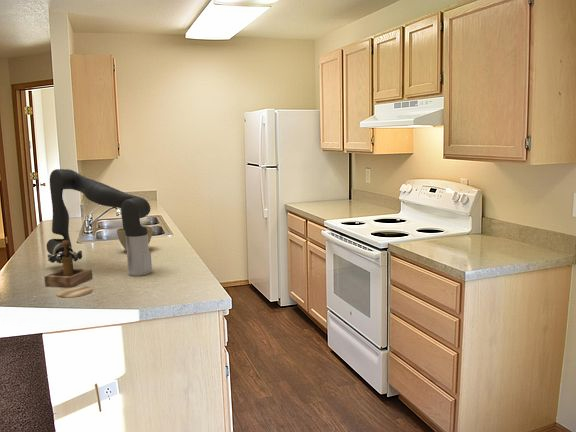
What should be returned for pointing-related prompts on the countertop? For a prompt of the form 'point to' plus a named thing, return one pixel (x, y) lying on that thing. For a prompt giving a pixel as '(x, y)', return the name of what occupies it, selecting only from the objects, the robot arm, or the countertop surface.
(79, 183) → the robot arm
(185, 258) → the countertop surface
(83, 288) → the cork trivet
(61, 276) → the walnut collar
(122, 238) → the flower pot
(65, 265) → the mortar and pestle
